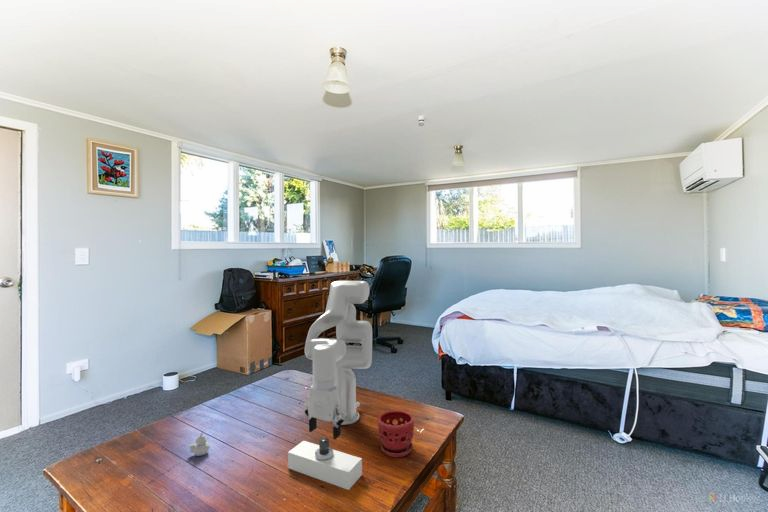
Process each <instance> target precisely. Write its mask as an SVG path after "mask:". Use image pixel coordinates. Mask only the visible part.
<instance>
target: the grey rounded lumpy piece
mask: <svg viewBox="0 0 768 512" xmlns="http://www.w3.org/2000/svg"><path fill="white" fill-rule="evenodd" d="M195 439H196V440H195V443H191V444H190V445H189V446H188V447H189V452H190V453H193V454H194V455H195V456H197V457H198V456H199V457H200V456H204V455H206V454H207V453H208V451H209V449H210V448H211V447H210V444H209V443H208V437H206V435H205V434H203V432H201V434H200V435H198V436H197V438H195Z"/></svg>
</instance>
